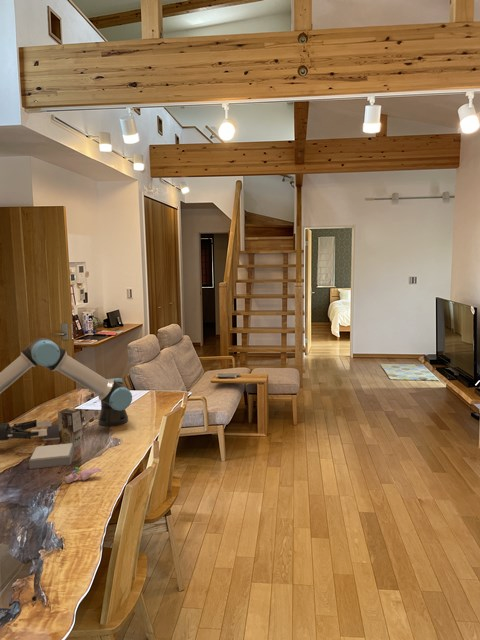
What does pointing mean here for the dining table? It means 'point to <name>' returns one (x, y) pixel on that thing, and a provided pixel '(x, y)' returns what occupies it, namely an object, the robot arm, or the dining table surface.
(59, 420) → the coffee box
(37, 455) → the pedestal
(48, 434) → the notebook
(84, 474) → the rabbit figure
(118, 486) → the dining table surface
